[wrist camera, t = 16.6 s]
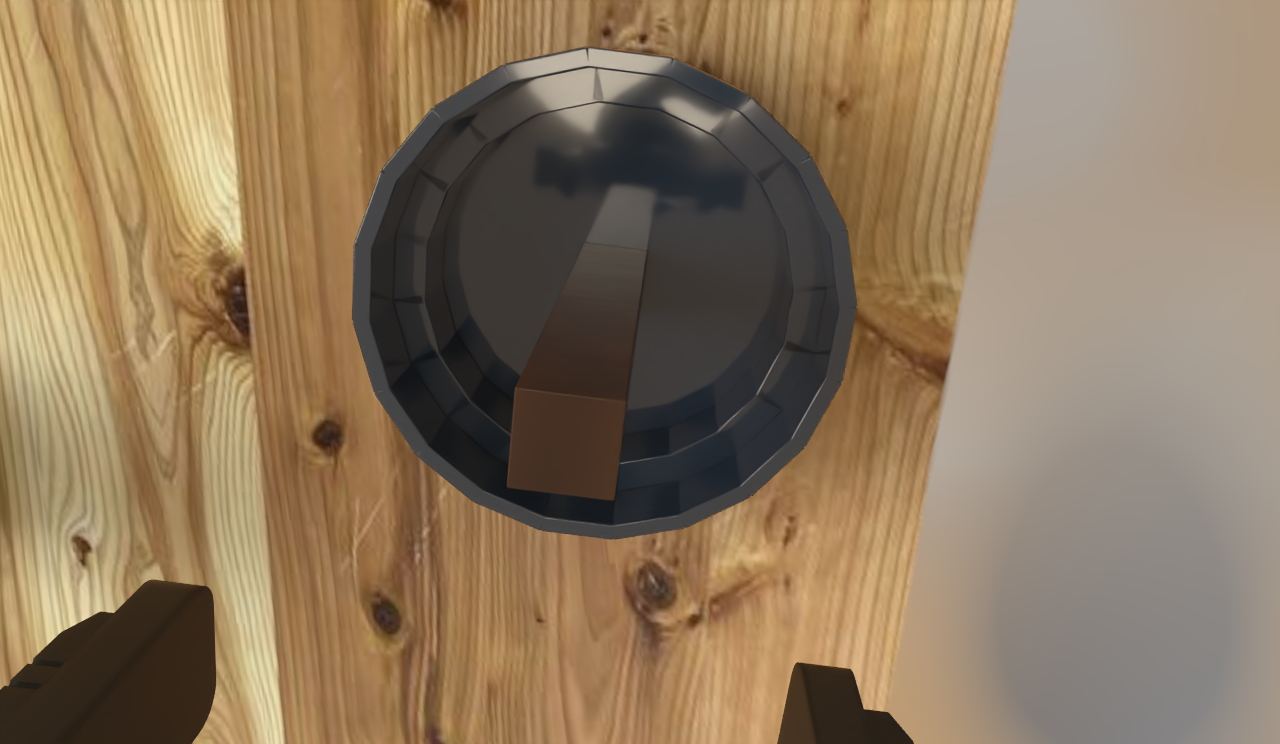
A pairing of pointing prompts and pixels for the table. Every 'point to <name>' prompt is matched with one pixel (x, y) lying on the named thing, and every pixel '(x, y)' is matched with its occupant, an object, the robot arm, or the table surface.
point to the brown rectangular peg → (580, 379)
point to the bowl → (614, 216)
